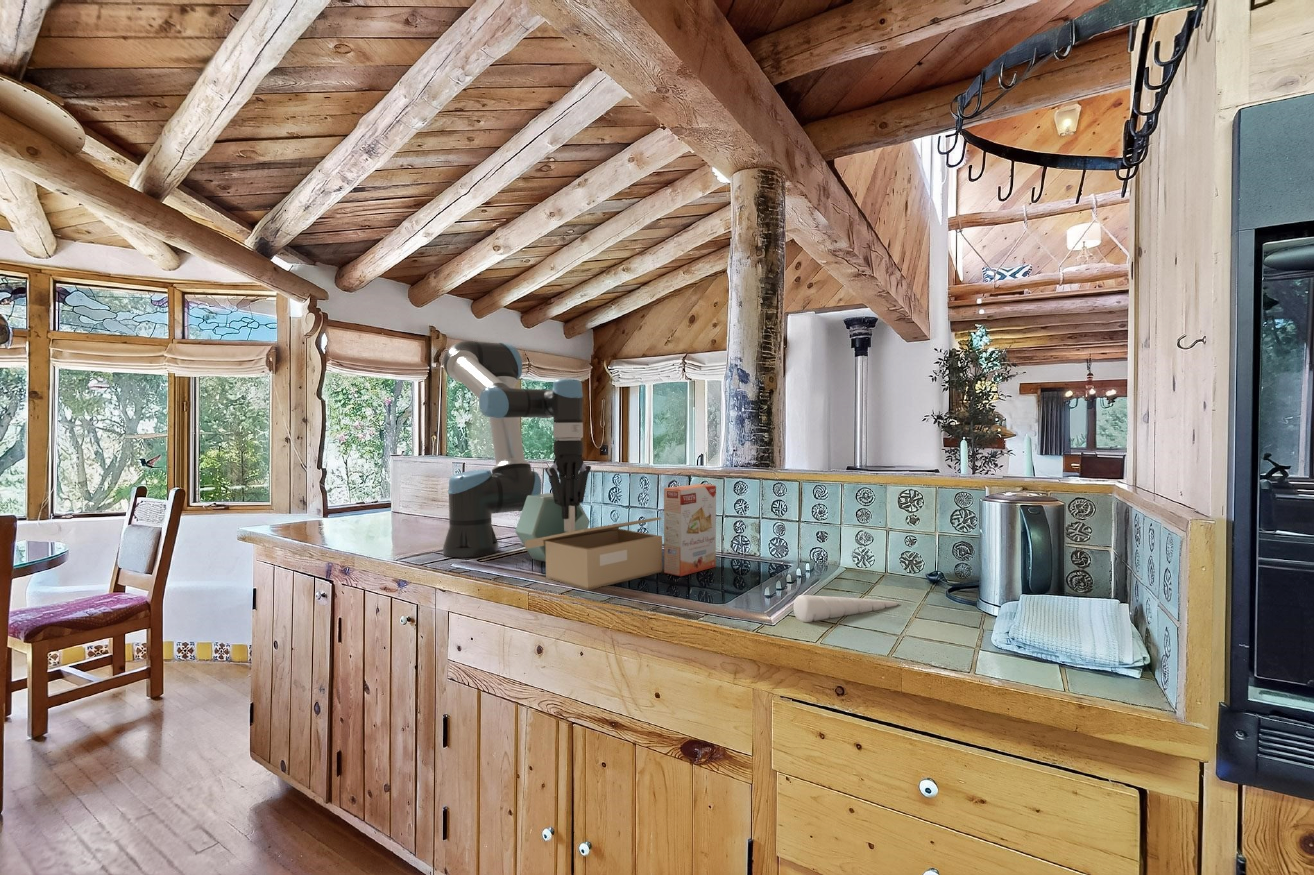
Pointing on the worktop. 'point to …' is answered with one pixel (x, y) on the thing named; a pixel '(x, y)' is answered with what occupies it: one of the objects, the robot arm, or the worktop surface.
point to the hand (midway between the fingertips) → (569, 531)
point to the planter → (544, 521)
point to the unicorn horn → (834, 607)
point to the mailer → (603, 558)
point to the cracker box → (689, 529)
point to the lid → (581, 532)
